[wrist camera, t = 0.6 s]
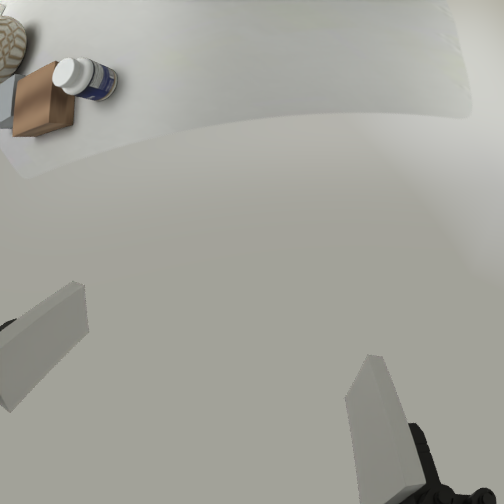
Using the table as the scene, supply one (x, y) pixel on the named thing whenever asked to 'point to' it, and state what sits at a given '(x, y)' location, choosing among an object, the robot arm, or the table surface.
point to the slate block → (8, 101)
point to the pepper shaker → (1, 8)
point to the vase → (11, 46)
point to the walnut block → (41, 104)
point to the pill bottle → (84, 78)
